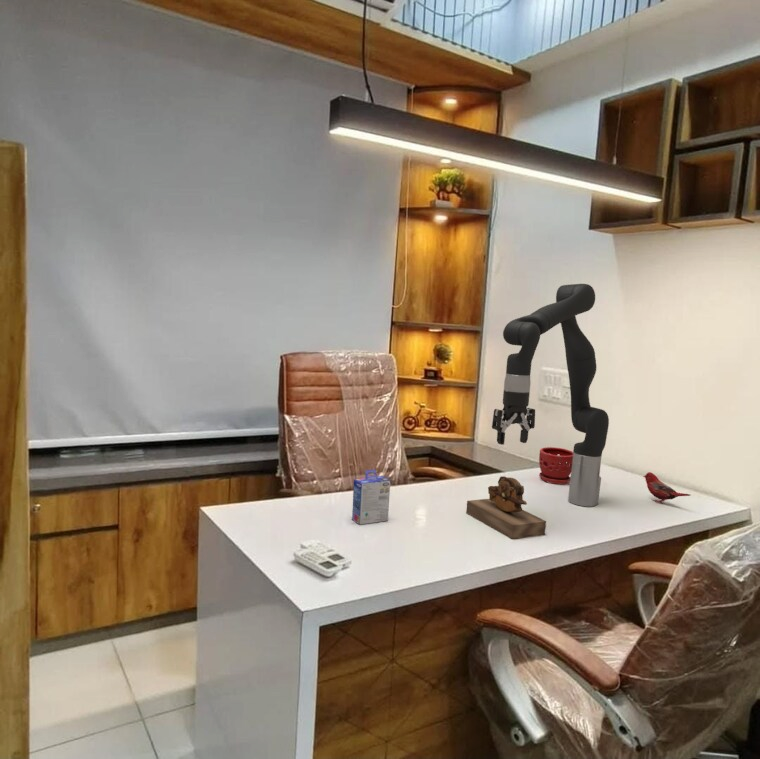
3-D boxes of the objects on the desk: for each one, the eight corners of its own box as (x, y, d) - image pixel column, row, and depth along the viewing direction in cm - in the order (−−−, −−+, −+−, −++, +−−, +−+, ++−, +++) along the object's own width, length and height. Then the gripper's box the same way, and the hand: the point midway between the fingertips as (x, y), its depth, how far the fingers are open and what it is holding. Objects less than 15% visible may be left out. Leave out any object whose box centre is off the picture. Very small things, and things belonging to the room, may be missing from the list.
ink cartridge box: (379, 515, 179) (382, 467, 177) (389, 521, 174) (392, 472, 173) (350, 519, 174) (353, 470, 172) (359, 525, 169) (363, 475, 167)
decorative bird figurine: (643, 496, 218) (646, 470, 217) (690, 512, 204) (694, 483, 203) (638, 497, 217) (641, 470, 216) (686, 513, 202) (690, 484, 201)
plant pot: (530, 476, 236) (533, 446, 235) (560, 476, 239) (563, 447, 238) (547, 486, 224) (550, 454, 222) (578, 486, 227) (582, 455, 225)
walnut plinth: (497, 509, 192) (498, 497, 191) (544, 534, 172) (546, 521, 172) (466, 513, 186) (467, 500, 186) (511, 539, 167) (513, 525, 166)
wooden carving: (481, 502, 185) (484, 471, 184) (493, 501, 187) (496, 470, 186) (517, 520, 170) (521, 486, 169) (529, 519, 173) (533, 485, 171)
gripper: (526, 387, 183) (522, 439, 185) (489, 387, 176) (485, 441, 178) (543, 391, 176) (538, 444, 178) (506, 391, 170) (501, 447, 172)
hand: (512, 443), depth 178 cm, fingers open, 8 cm apart
